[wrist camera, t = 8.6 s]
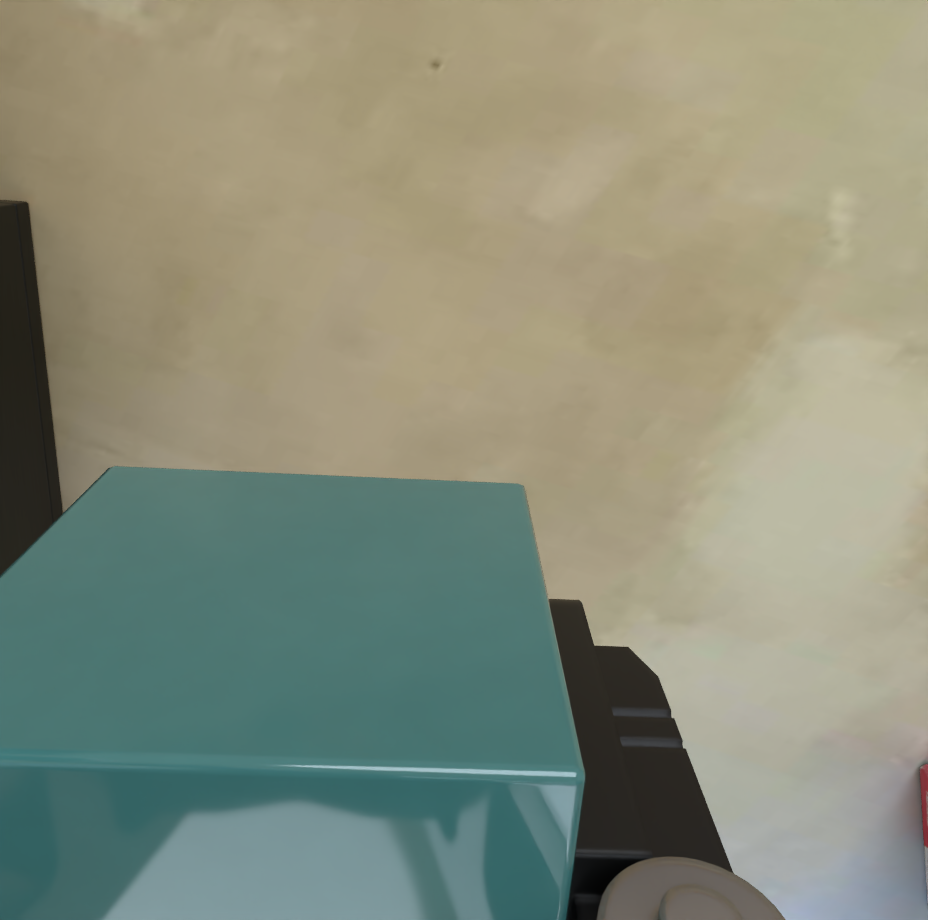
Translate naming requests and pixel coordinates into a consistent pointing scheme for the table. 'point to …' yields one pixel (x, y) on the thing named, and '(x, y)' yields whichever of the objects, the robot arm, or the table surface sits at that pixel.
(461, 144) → the table surface
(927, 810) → the ink box
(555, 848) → the block
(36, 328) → the black hinged case
